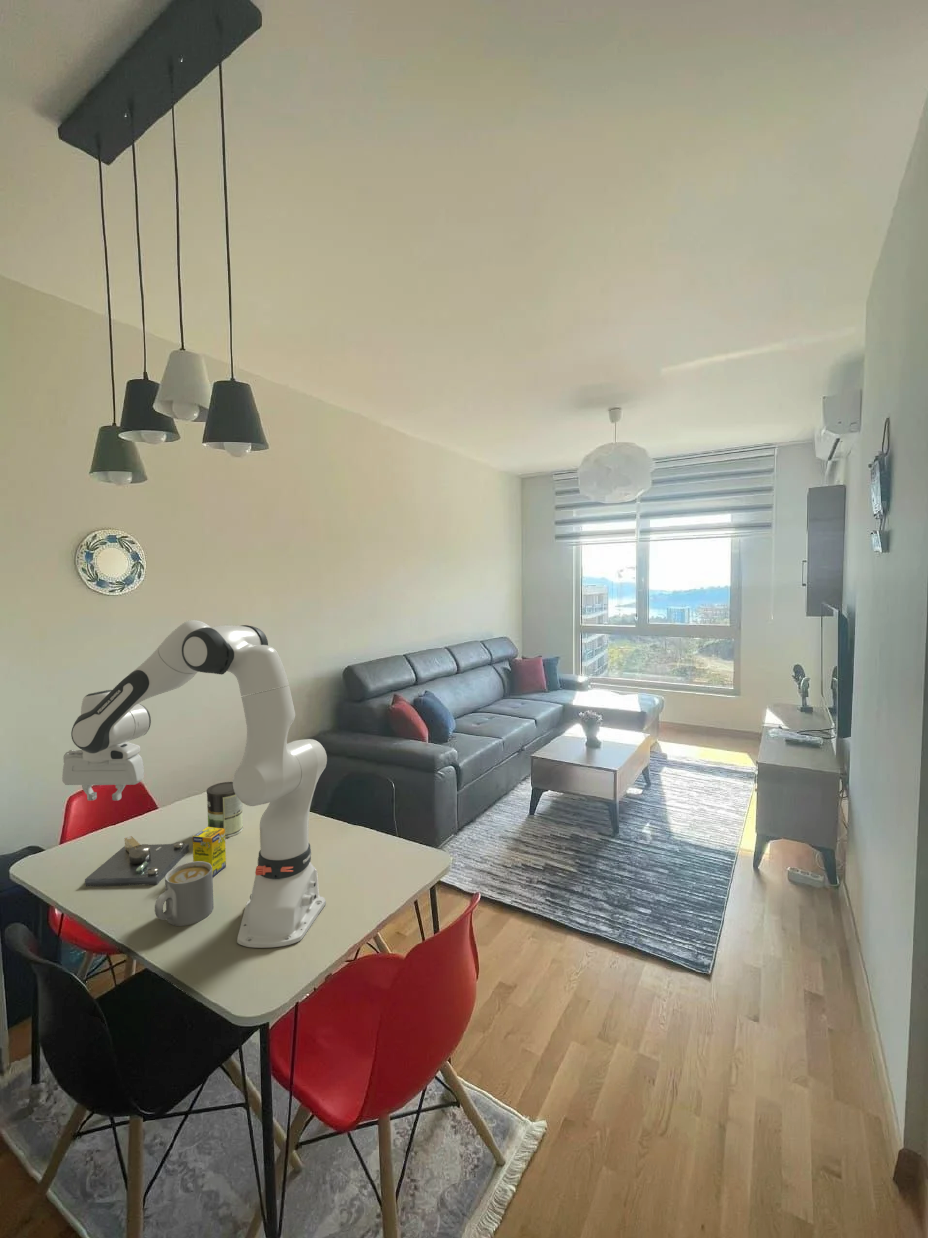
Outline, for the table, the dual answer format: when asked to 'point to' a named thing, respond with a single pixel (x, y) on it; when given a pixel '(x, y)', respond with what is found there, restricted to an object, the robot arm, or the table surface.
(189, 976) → the table surface
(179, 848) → the plate
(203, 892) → the coffee mug
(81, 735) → the robot arm
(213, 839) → the supplement box
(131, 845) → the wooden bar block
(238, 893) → the table surface
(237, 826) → the coffee can
